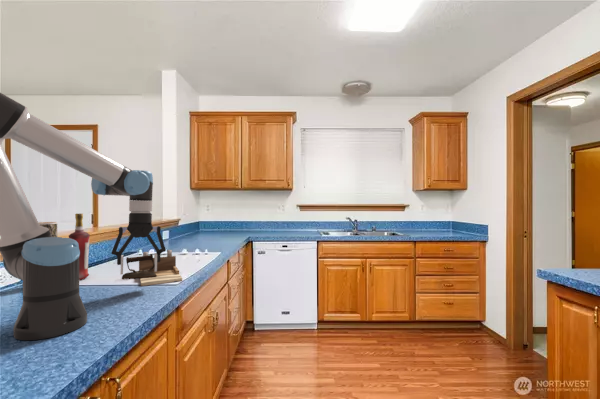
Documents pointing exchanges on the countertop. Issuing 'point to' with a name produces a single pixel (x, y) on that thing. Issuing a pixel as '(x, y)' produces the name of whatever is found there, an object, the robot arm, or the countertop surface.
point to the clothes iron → (141, 273)
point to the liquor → (81, 246)
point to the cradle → (161, 270)
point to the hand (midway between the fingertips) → (139, 272)
